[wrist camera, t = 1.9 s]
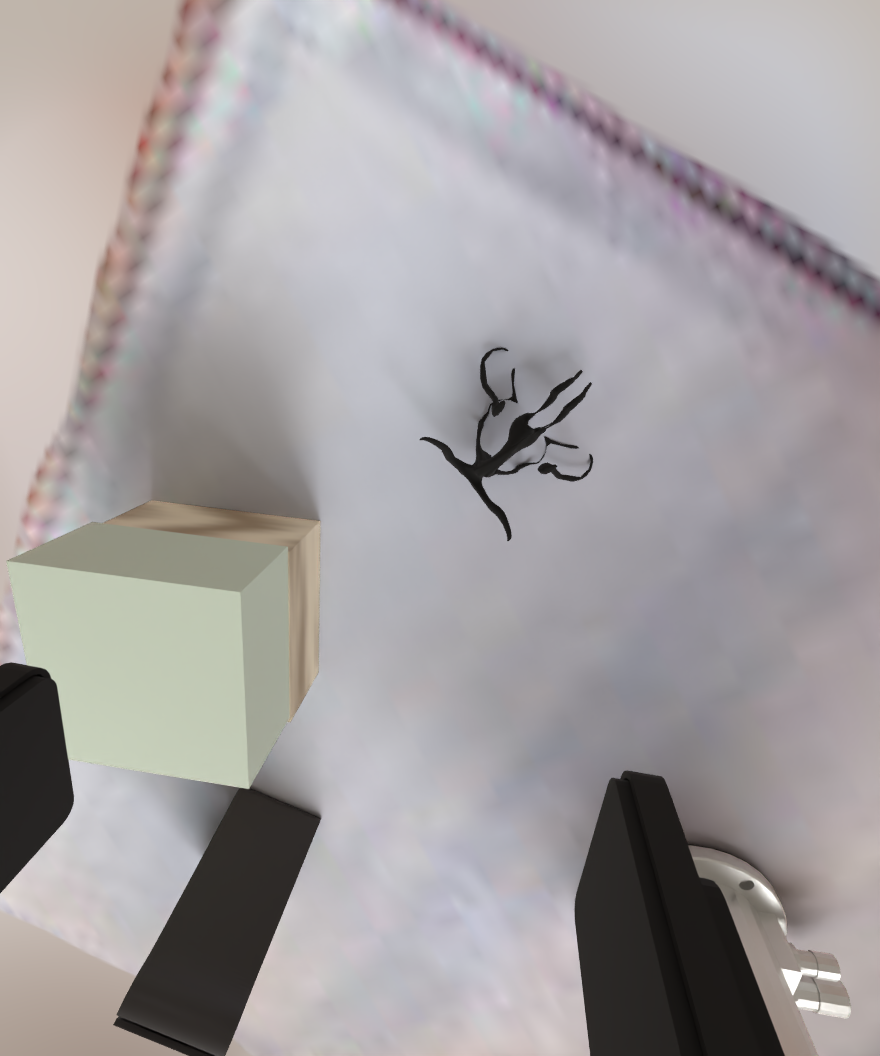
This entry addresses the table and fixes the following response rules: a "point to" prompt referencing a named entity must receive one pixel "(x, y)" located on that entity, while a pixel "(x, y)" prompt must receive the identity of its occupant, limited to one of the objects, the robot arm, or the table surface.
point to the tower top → (160, 647)
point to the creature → (510, 442)
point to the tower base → (266, 530)
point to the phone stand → (220, 929)
